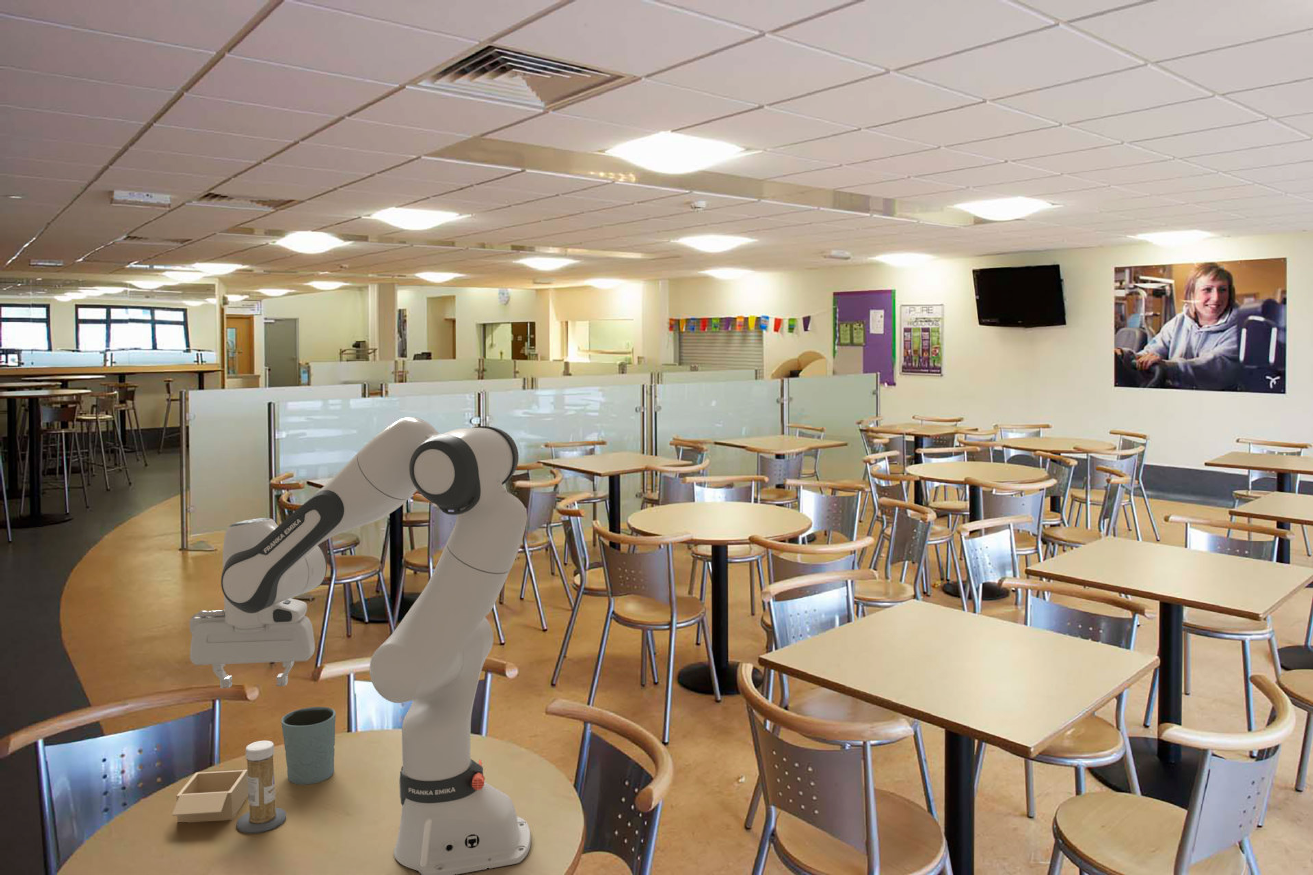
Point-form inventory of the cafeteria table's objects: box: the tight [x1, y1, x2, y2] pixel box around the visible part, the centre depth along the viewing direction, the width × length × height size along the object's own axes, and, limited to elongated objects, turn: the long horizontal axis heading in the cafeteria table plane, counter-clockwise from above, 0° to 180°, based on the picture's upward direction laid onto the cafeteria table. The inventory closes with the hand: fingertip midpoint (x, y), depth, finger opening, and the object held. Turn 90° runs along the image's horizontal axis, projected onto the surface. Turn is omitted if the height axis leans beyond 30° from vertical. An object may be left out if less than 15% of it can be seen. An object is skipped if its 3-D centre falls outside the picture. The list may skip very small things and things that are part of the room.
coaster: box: [236, 806, 287, 834], centre depth 158 cm, size 8×8×1 cm
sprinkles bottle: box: [245, 740, 276, 824], centre depth 157 cm, size 5×5×13 cm
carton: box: [171, 768, 248, 823], centre depth 162 cm, size 9×17×5 cm, turn 8°
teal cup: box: [280, 706, 337, 786], centre depth 176 cm, size 10×10×12 cm
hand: (254, 685), depth 157 cm, fingers open, 8 cm apart
